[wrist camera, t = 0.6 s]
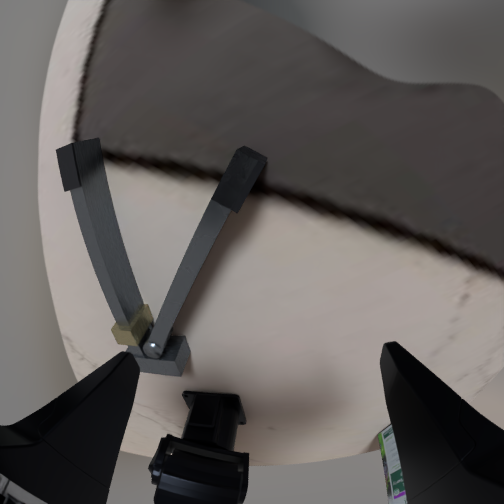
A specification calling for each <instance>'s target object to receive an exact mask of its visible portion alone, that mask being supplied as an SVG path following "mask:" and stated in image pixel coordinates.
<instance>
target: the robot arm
mask: <svg viewBox="0 0 504 504" xmlns="http://www.w3.org/2000/svg"><path fill="white" fill-rule="evenodd" d="M380 368H381V374H382V380H383V386H384V393H385V400H386V405H387V409H388V413H389V417H390V421H391V425H392V429H393V433H394V437H395V442H396V446H397V451H398V455H399V460H400V465H401V470H402V476H403V481H404V487H405V493H406V499H407V504H504V430H503V429H501V428H500V427H498V426H497V425H495V424H494V423H493V422H491V421H490V420H488V419H487V418H485V417H484V416H483V415H481V414H480V413H479V412H478V411H476V410H475V409H474V408H473V407H472V406H470V405H469V404H468V403H467V402H466V401H465V400H464V399H461V397H460V396H459V395H458V394H457V393H456V392H455V391H453V390H452V389H451V388H450V387H449V386H448V385H447V384H445V383H444V382H443V381H442V380H441V379H440V378H438V377H437V376H436V375H435V374H434V373H433V372H431V371H430V370H429V369H428V368H427V367H426V366H424V365H423V364H422V363H421V362H420V361H419V360H417V359H416V358H415V357H414V356H413V355H412V354H410V353H409V352H408V351H407V350H406V349H404V348H403V347H402V346H401V345H400V344H399V343H397V342H395V341H393V342H387V343H385V344H384V345H383V349H382V353H381V358H380ZM139 375H140V367H139V365H138V363H137V361H136V359H135V357H134V356H133V354H132V353H131V352H124V351H123V352H120V353H119V354H117V355H116V356H114V357H113V358H112V359H110V360H109V361H107V362H106V363H105V364H103V365H102V366H100V367H99V368H98V369H96V370H95V371H93V372H92V373H91V374H89V375H88V376H86V377H85V378H84V379H82V380H81V381H79V382H78V383H76V384H75V385H74V386H72V387H71V388H69V389H68V390H67V391H66V392H64V393H62V394H61V395H60V396H58V398H55V399H54V400H52V401H51V402H50V403H48V404H47V405H45V406H44V407H42V408H41V409H39V410H37V411H36V412H34V413H32V414H31V415H29V416H27V417H26V418H24V419H22V420H20V421H18V422H16V423H14V424H12V425H7V426H1V425H0V504H106V502H107V498H108V493H109V488H110V484H111V480H112V476H113V473H114V469H115V465H116V461H117V457H118V453H119V450H120V447H121V443H122V440H123V436H124V433H125V430H126V426H127V423H128V420H129V416H130V413H131V410H132V407H133V403H134V398H135V394H136V389H137V384H138V379H139ZM182 396H183V398H184V400H185V402H186V404H187V406H188V407H189V409H190V410H189V413H188V417H187V420H186V423H185V427H184V430H183V434H182V437H181V438H178V437H174V436H172V435H170V434H167V436H166V437H165V438H161V440H160V443H159V446H158V449H157V451H156V453H155V455H154V457H153V459H152V461H151V462H150V464H149V468H148V469H149V471H150V472H151V477H152V484H154V485H157V488H156V491H155V496H154V504H243V502H244V500H245V496H246V493H247V488H248V471H249V453H245V452H244V453H241V452H235V451H234V445H235V439H236V433H237V427H238V425H244V424H246V418H245V414H244V411H243V407H242V404H241V400H240V397H239V396H238V395H236V394H218V393H203V392H192V391H183V393H182ZM171 453H172V455H171Z"/></svg>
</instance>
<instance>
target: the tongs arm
mask: <svg viewBox="0 0 504 504" xmlns="http://www.w3.org/2000/svg"><path fill="white" fill-rule="evenodd" d="M266 161H267V157H265V156H263V155H261V154H259V153H258V152H256V151H254V150H252V149H250V148H248V147H246V146H243V147H241V148H239V149H237V150H236V152H235V154H234V156H233V158H232V160H231V162H230V163H229V165H228V167H227V169H226V171H225V173H224V175H223V177H222V179H221V181H220V183H219V185H218V187H217V189H216V190H215V192H214V194H213V196H212V198H211V200H210V202H209V204H208V207H207V209H206V211H205V213H204V215H203V217H202V219H201V221H200V223H199V225H198V227H197V229H196V231H195V233H194V236H193V238H192V240H191V242H190V244H189V246H188V249H187V251H186V253H185V255H184V257H183V260H182V262H181V264H180V266H179V268H178V271H177V273H176V275H175V278H174V280H173V282H172V284H171V287H170V289H169V291H168V294H167V296H166V298H165V301H164V303H163V306H162V308H161V310H160V313H159V315H158V318H157V320H156V323H155V325H154V328H153V330H152V332H151V333H150V335H149V337H148V339H147V341H146V342H145V344H144V346H143V351H144V352H145V354H146V355H148V356H149V357H151V358H160V356H161V354H162V352H163V350H164V348H165V346H166V344H167V342H168V339H169V337H170V335H171V333H172V331H173V327H172V326H173V324H174V322H175V319H176V317H177V315H178V313H179V311H180V309H181V307H182V305H183V303H184V301H185V299H186V297H187V295H188V293H189V291H190V289H191V287H192V285H193V283H194V281H195V279H196V277H197V275H198V273H199V271H200V269H201V267H202V265H203V263H204V261H205V259H206V257H207V255H208V253H209V251H210V249H211V247H212V245H213V244H214V242H215V240H216V238H217V236H218V234H219V232H220V230H221V228H222V226H223V225H224V223H225V221H226V219H227V217H228V215H229V213H230V211H231V210H232V211H234V212H236V213H238V212H239V210H240V208H241V206H242V204H243V203H244V201H245V199H246V197H247V195H248V194H249V192H250V190H251V188H252V187H253V185H254V183H255V181H256V179H257V178H258V176H259V174H260V172H261V171H262V169H263V167H264V165H265V163H266Z"/></svg>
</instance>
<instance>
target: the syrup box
mask: <svg viewBox="0 0 504 504" xmlns="http://www.w3.org/2000/svg"><path fill="white" fill-rule="evenodd" d="M378 439H379V444H380V449H381V455H382V460H383V467H384V473H385V480H386V487H387V494H388V503H389V504H407V499H406V493H405V487H404V481H403V476H402V470H401V465H400V460H399V455H398V451H397V446H396V442H395V437H394V433H393V429H392V425H390V426H389V427H387V428H386V429H385V430H383V431H382V432H380V433H379V434H378Z"/></svg>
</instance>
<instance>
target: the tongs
mask: <svg viewBox="0 0 504 504" xmlns="http://www.w3.org/2000/svg"><path fill="white" fill-rule="evenodd" d="M56 153H57V159H58V164H59V169H60V174H61V178H62V183H63V187H64V192H66V191H69V190H70V192H71V196H72V200H73V204H74V207H75V211H76V215H77V218H78V222H79V225H80V229H81V232H82V235H83V238H84V241H85V244H86V247H87V250H88V253H89V256H90V259H91V262H92V265H93V267H94V270H95V273H96V275H97V278H98V281H99V283H100V286H101V288H102V291H103V293H104V295H105V298H106V300H107V303H108V305H109V307H110V309H111V312H112V314H113V316H114V318H115V320H116V323H115V324H114V326H113V327H112V329H111V331H112V333H113V335H114V337H115V339H116V341H117V343H118V344H122V345H128V348H127V350H126V352H131V353H132V354H133V356H134V357H135V359H136V361H137V363H138V365H139V367H140V372H145V373H153V374H161V375H170V376H180V377H181V376H182V373H183V371H184V368H185V365H186V362H187V360H188V357H189V354H190V348H189V346H188V343H187V340H186V337H185V336H175V335H170V337H169V339H168V342H167V344H166V346H165V348H164V350H163V352H162V354H161V356H160V358H151V357H149V356H148V355H146V354H145V352H144V351H143V346H144V344H145V342H146V341H147V339H148V337H149V335H150V333H151V332H152V330H153V326H152V324H151V322H152V320H153V317H152V314H151V312H150V309H149V307H148V304H144V303H143V301H142V298H141V295H140V293H139V290H138V287H137V284H136V281H135V278H134V276H133V273H132V270H131V267H130V263H129V260H128V257H127V254H126V251H125V248H124V244H123V241H122V237H121V234H120V230H119V227H118V223H117V219H116V216H115V212H114V208H113V204H112V200H111V196H110V191H109V187H108V182H107V178H106V173H105V168H104V163H103V158H102V152H101V147H100V141H99V138H95V139H89V140H84V141H79V142H75V143H71V144H68V145H66V146H64V147H61V148H59V149H57V150H56Z"/></svg>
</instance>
